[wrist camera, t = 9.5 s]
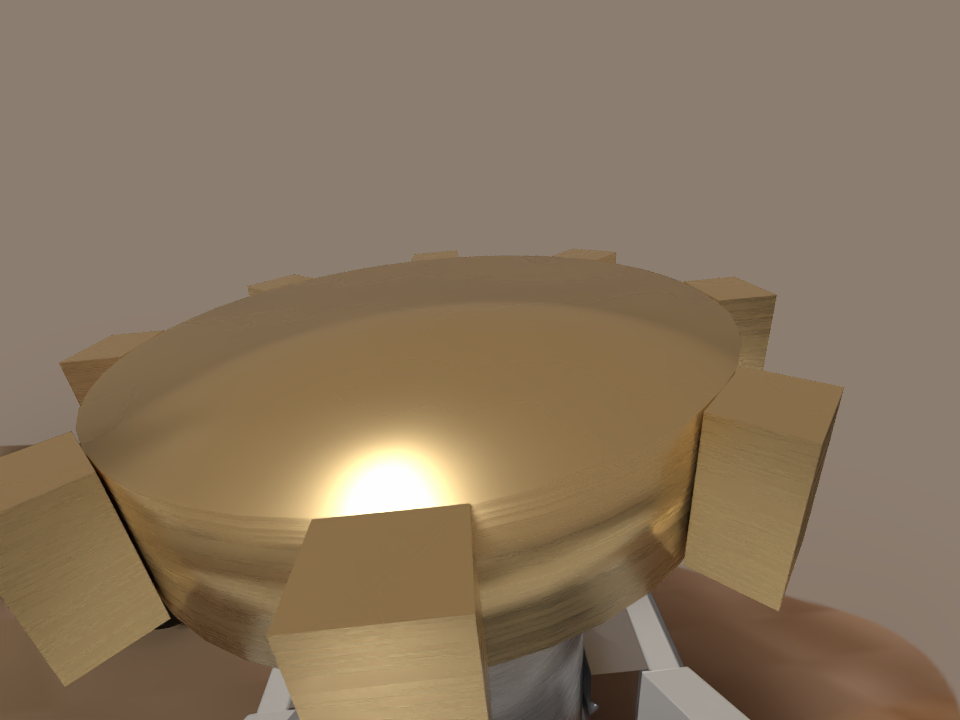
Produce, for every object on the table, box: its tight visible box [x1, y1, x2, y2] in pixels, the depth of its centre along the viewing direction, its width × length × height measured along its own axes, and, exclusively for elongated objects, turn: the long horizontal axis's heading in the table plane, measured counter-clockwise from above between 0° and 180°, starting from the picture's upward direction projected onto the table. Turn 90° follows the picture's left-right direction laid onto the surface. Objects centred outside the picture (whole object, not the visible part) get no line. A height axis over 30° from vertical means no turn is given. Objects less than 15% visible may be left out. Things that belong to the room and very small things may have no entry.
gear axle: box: [0, 249, 844, 720], centre depth 9 cm, size 8×8×14 cm
